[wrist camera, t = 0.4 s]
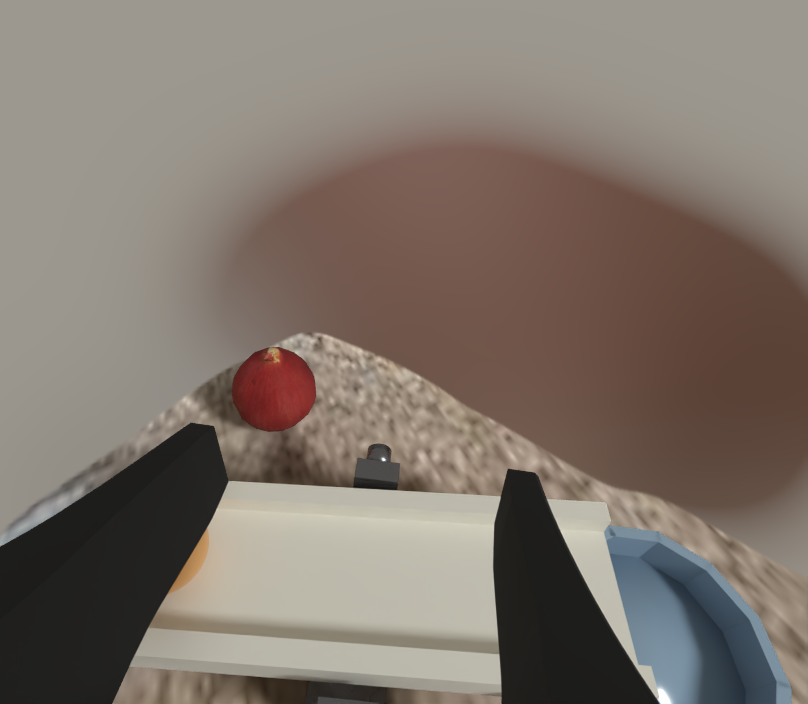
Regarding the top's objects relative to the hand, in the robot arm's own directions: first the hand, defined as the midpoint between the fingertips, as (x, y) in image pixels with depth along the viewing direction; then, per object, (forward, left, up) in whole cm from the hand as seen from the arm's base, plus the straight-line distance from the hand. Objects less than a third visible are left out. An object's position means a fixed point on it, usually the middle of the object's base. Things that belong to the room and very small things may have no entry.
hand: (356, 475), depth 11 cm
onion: (+15, +7, -20) cm, 26 cm away
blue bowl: (+2, -18, -19) cm, 26 cm away
